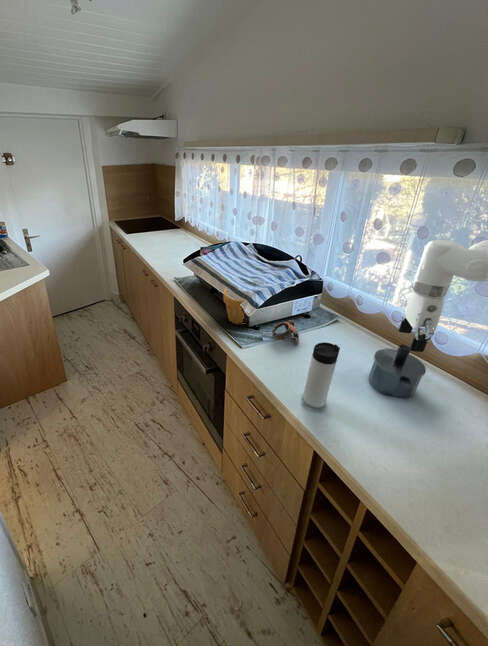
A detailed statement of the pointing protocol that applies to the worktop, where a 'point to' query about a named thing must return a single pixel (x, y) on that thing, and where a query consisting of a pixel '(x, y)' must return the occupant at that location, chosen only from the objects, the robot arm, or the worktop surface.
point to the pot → (392, 383)
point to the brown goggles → (289, 330)
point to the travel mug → (320, 374)
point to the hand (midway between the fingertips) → (410, 341)
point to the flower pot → (234, 309)
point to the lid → (400, 362)
